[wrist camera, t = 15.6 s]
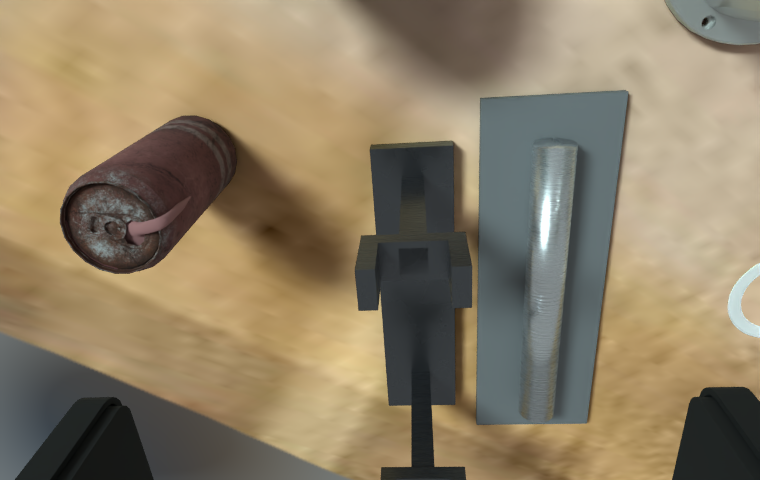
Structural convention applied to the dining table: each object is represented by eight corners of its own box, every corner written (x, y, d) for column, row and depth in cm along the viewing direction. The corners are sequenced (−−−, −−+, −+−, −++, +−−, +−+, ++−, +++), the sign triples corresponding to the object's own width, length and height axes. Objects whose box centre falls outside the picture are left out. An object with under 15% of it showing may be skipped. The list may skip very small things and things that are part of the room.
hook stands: (452, 140, 41) (474, 232, 27) (454, 395, 51) (471, 561, 37) (370, 144, 41) (349, 237, 27) (389, 396, 52) (381, 560, 37)
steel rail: (530, 138, 40) (535, 150, 37) (573, 137, 40) (582, 149, 37) (516, 397, 50) (520, 422, 48) (550, 399, 50) (556, 423, 47)
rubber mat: (625, 90, 39) (628, 91, 38) (584, 418, 52) (586, 423, 51) (480, 98, 40) (481, 99, 39) (476, 420, 52) (476, 424, 52)
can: (254, 176, 43) (190, 262, 30) (182, 200, 44) (91, 291, 32) (220, 101, 41) (134, 160, 28) (144, 128, 42) (29, 196, 29)
